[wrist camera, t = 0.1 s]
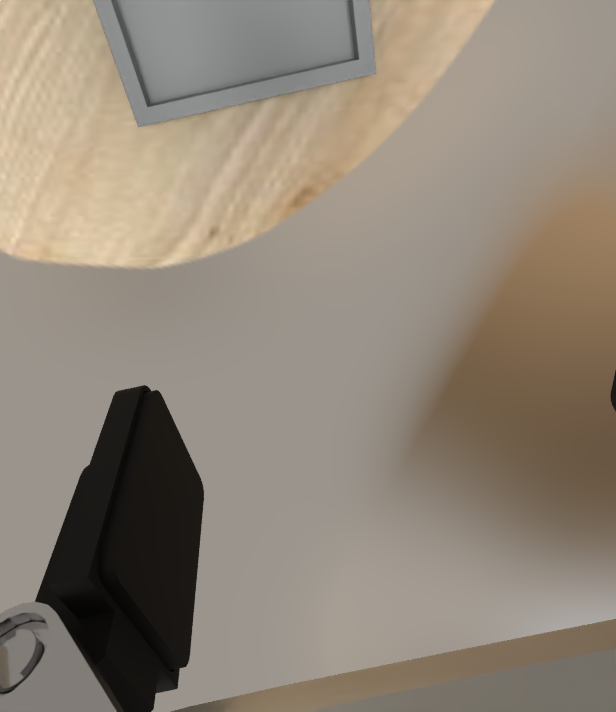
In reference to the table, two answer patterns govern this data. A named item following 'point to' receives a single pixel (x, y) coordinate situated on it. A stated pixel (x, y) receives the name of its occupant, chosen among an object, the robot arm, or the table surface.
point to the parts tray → (231, 50)
